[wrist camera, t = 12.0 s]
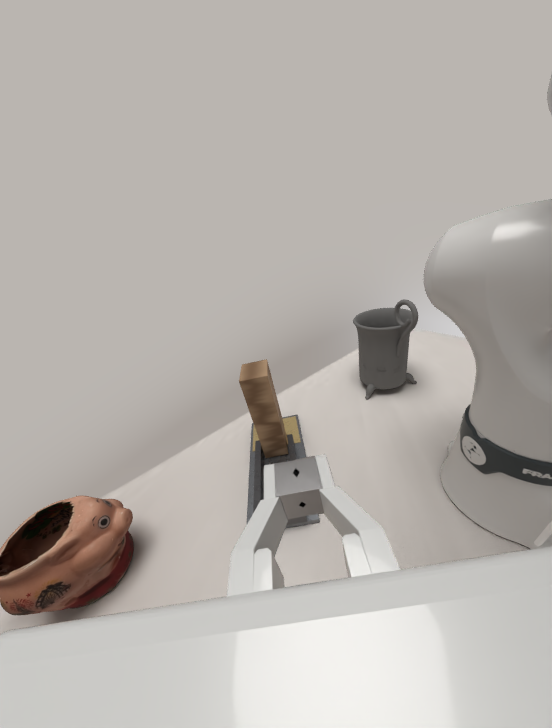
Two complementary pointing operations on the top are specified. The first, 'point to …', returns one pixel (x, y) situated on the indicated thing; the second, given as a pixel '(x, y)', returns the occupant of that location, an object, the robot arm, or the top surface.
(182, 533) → the top surface
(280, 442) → the walnut block
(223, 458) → the top surface
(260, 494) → the steel chute
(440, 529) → the top surface
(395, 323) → the footed curly-handled cup
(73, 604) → the decorative planter
